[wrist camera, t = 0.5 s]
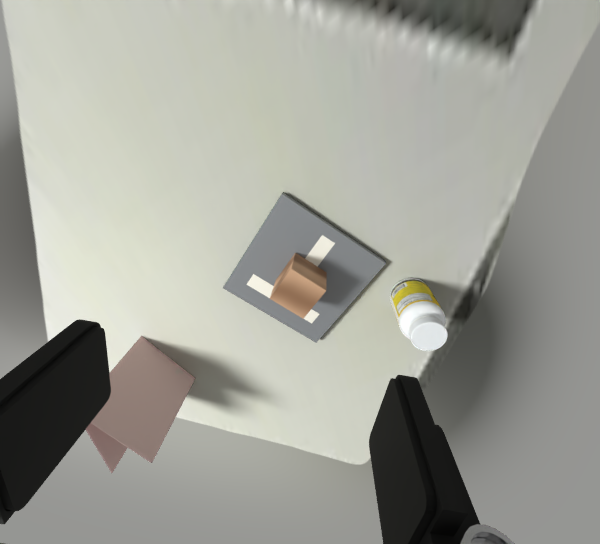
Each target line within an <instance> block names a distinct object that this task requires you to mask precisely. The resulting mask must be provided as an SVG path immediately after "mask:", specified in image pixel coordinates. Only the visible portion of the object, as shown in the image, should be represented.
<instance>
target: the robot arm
mask: <svg viewBox="0 0 600 544" xmlns="http://www.w3.org/2000/svg"><path fill="white" fill-rule="evenodd" d="M110 394H111V385H110V376H109V366H108V357H107V348H106V338H105V331H104V329H103V328H101V327H100V324H99V323H97V322H91V321H85V320H76V321H75V322H73V323H72V324H71V325H69V326H68V327H67V328H66V329H64V330H63V331H62V332H60V333H59V334H58V335H57V336H55V337H54V338H53V339H51V340H50V341H49V342H48V343H46V344H45V345H44V346H42V347H41V348H40V349H39V350H37V351H36V352H35V353H33V354H32V355H31V356H30V357H28V358H27V359H26V360H24V361H23V362H22V363H21V364H19V365H18V366H17V367H15V368H14V369H13V370H12V371H10V372H9V373H8V374H6V375H5V376H4V377H3V378H1V379H0V524H5V523H6V522H7V521H8V519H9V518H10V517H11V516H12V514H13V513H14V512H15V511H19V510H21V509H22V508H23V507H24V506H25V505H26V504H27V503H28V502H29V500H30V499H31V498H32V496H33V495H34V494H35V493H36V492H37V490H38V489H39V488H40V486H41V485H42V484H43V483H44V481H45V480H46V479H47V478H48V476H49V475H50V474H51V472H52V471H53V470H54V469H55V467H56V466H57V465H58V464H59V462H60V461H61V460H62V458H63V457H64V456H65V455H66V453H67V452H68V451H69V450H70V448H71V447H72V446H73V445H74V443H75V442H76V441H77V439H78V438H79V437H80V436H81V434H82V433H83V432H84V430H85V429H86V428H87V427H88V426H89V424H90V423H91V422H92V420H93V419H94V418H95V417H96V415H97V414H98V413H99V412H100V410H101V409H102V408H103V407H104V405H105V404H106V403H107V401H108V399H109V397H110ZM369 448H370V455H371V461H372V468H373V475H374V482H375V489H376V496H377V503H378V510H379V516H380V523H381V530H382V537H383V544H514V543H513V542H512V541H511V540H510V539H509V538H508V537H507V536H506V535H504V534H503V533H501V532H500V531H498V530H497V529H495V528H492V527H490V526H487V525H481V524H480V523H479V520H478V517H477V515H476V513H475V510H474V507H473V505H472V503H471V500H470V497H469V495H468V492H467V490H466V487H465V485H464V482H463V480H462V477H461V475H460V472H459V470H458V467H457V465H456V462H455V460H454V457H453V455H452V452H451V449H450V447H449V444H448V442H447V440H446V437H445V434H444V432H443V430H442V428H441V427H439V425H435V424H434V421H433V418H432V416H431V413H430V410H429V408H428V405H427V403H426V400H425V397H424V395H423V392H422V389H421V387H420V384H419V381H418V379H417V378H415V377H409V376H403V375H398V376H397V377H396V379H393V378H391V380H390V382H389V384H388V387H387V390H386V393H385V396H384V398H383V401H382V404H381V407H380V409H379V412H378V415H377V418H376V420H375V423H374V426H373V429H372V432H371V434H370V439H369ZM0 544H4V543H0Z"/></svg>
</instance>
